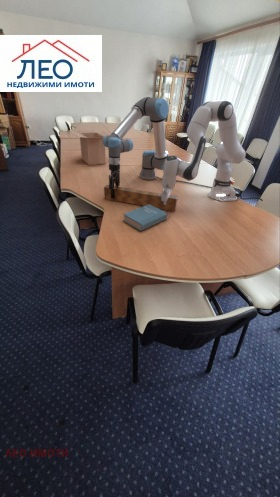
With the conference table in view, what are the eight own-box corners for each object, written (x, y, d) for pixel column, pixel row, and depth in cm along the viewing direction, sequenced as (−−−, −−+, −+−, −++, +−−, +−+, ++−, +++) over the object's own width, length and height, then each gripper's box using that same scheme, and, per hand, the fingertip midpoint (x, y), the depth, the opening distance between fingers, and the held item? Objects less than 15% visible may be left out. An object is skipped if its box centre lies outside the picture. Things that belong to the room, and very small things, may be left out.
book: (148, 210, 150) (149, 204, 147) (166, 220, 141) (167, 213, 138) (123, 221, 137) (123, 213, 134) (141, 231, 128) (142, 224, 125)
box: (116, 165, 229) (116, 136, 213) (83, 168, 214) (80, 137, 198) (102, 154, 259) (101, 128, 243) (71, 156, 244) (68, 129, 228)
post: (104, 198, 162) (103, 187, 157) (107, 196, 166) (107, 184, 161) (174, 211, 150) (176, 199, 145) (176, 208, 154) (178, 196, 149)
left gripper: (113, 168, 139) (114, 202, 153) (125, 160, 154) (124, 192, 168) (102, 166, 141) (104, 200, 154) (115, 159, 156) (115, 190, 169)
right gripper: (170, 189, 134) (167, 209, 143) (176, 178, 150) (173, 197, 158) (160, 187, 136) (157, 207, 144) (167, 177, 152) (164, 196, 160)
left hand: (114, 196), depth 161 cm, fingers open, 7 cm apart
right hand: (166, 202), depth 151 cm, fingers closed on post, 5 cm apart
